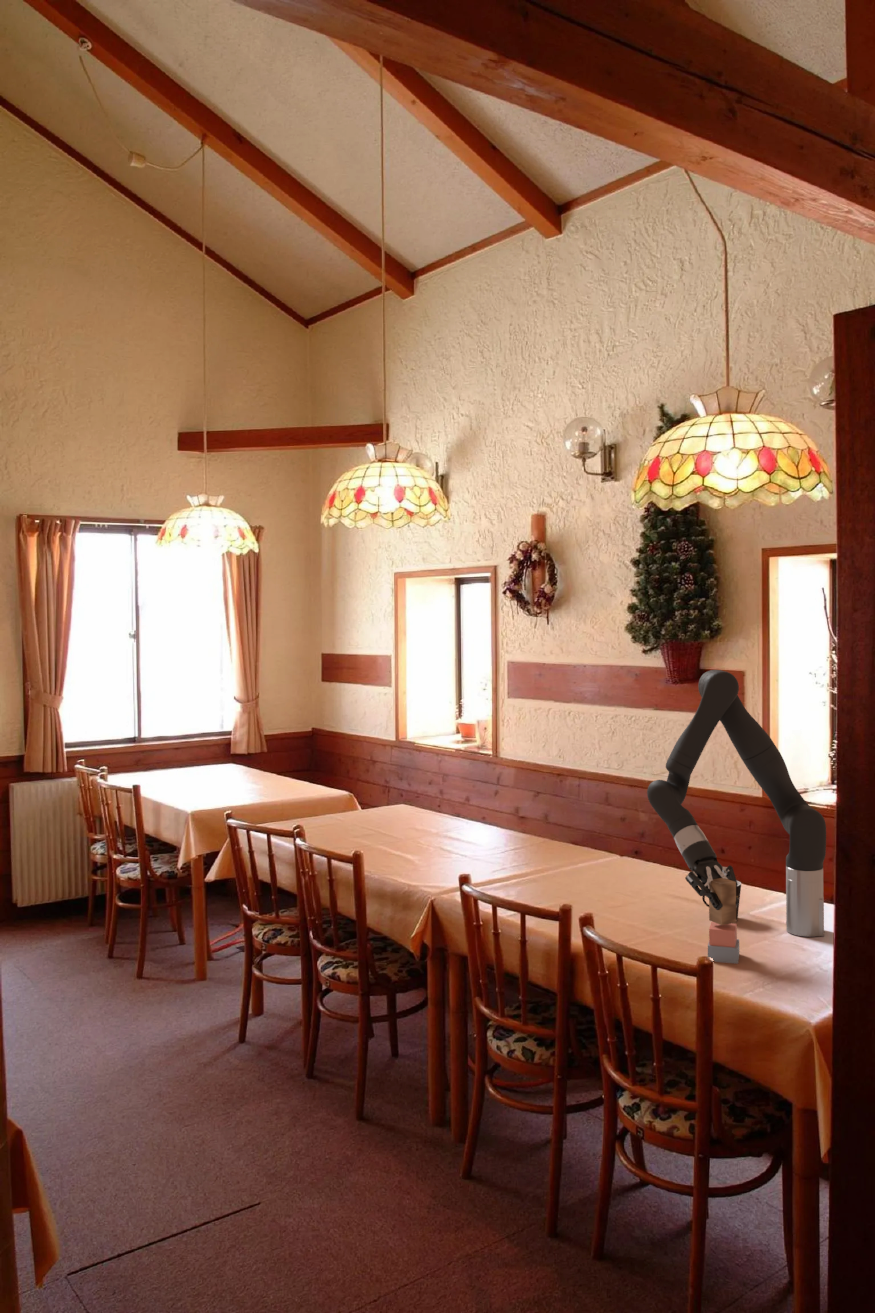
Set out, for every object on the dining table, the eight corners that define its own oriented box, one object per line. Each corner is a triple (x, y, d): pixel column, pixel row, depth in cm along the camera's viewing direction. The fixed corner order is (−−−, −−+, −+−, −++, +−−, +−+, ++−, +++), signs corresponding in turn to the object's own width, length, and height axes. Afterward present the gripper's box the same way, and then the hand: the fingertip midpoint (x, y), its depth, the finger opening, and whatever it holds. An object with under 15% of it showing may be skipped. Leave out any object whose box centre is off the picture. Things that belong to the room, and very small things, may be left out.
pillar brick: (723, 917, 251) (723, 877, 251) (736, 922, 247) (735, 881, 247) (709, 920, 249) (708, 880, 249) (721, 925, 245) (721, 884, 245)
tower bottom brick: (739, 955, 250) (739, 939, 250) (737, 964, 244) (737, 948, 244) (710, 953, 253) (710, 937, 252) (707, 962, 246) (707, 945, 246)
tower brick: (736, 940, 250) (736, 924, 250) (734, 947, 244) (734, 931, 244) (711, 937, 252) (711, 921, 252) (709, 945, 246) (709, 929, 246)
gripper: (678, 842, 251) (712, 903, 241) (723, 836, 257) (758, 894, 247) (665, 859, 256) (697, 919, 246) (710, 852, 262) (743, 910, 252)
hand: (728, 906), depth 246 cm, fingers closed on pillar brick, 4 cm apart
